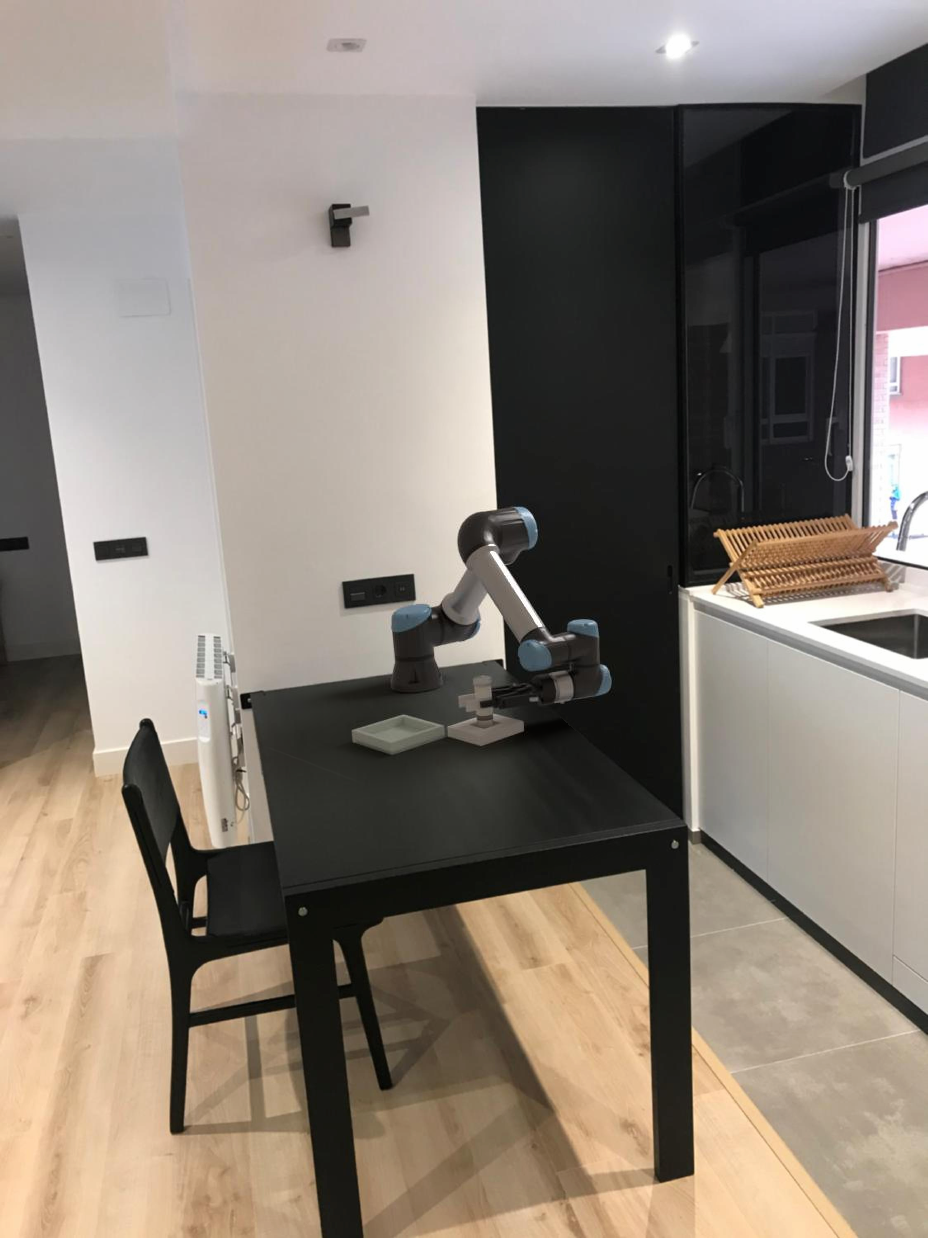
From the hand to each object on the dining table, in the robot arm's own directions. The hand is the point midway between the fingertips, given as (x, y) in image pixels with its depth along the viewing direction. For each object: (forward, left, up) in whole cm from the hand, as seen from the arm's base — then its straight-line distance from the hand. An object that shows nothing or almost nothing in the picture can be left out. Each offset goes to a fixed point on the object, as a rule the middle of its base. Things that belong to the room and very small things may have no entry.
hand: (462, 704), depth 240 cm
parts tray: (+11, -12, -8) cm, 18 cm away
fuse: (-5, +2, -8) cm, 10 cm away
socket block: (-5, +2, -8) cm, 10 cm away
